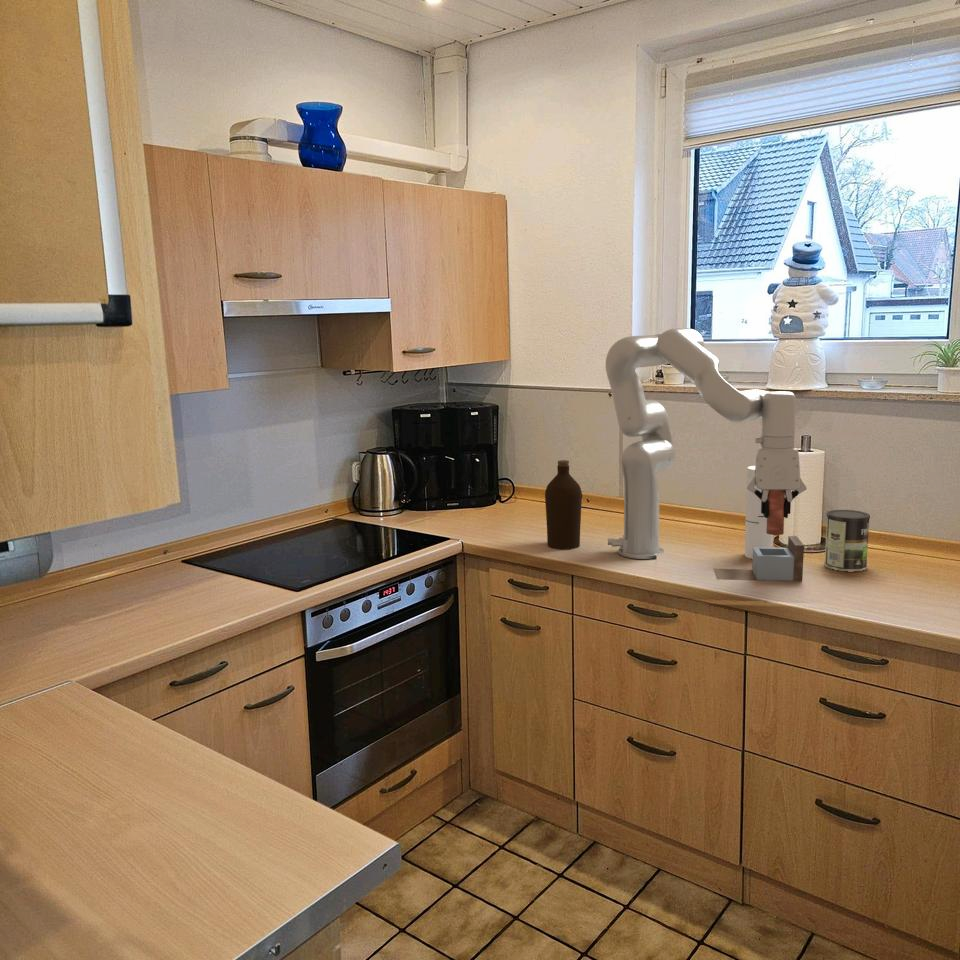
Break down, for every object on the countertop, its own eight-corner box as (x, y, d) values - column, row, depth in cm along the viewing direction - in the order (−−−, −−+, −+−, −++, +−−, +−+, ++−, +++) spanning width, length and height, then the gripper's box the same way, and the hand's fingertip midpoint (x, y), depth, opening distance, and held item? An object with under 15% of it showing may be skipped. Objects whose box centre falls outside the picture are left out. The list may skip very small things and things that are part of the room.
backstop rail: (717, 583, 209) (718, 543, 208) (713, 572, 218) (714, 534, 216) (802, 585, 206) (804, 545, 204) (794, 574, 215) (796, 536, 213)
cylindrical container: (773, 563, 225) (777, 470, 220) (745, 562, 226) (748, 470, 222) (770, 556, 232) (773, 465, 227) (743, 555, 233) (746, 465, 229)
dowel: (767, 535, 207) (769, 486, 205) (765, 531, 211) (766, 483, 209) (784, 535, 207) (786, 486, 205) (782, 531, 211) (783, 483, 209)
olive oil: (563, 552, 240) (563, 465, 236) (537, 545, 248) (537, 461, 244) (589, 545, 247) (589, 460, 242) (563, 539, 255) (563, 456, 250)
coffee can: (869, 564, 222) (872, 511, 220) (863, 574, 214) (866, 519, 211) (827, 559, 228) (830, 507, 225) (820, 569, 219) (823, 515, 216)
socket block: (757, 579, 208) (758, 556, 207) (752, 569, 216) (752, 547, 215) (793, 580, 206) (794, 557, 205) (787, 570, 215) (788, 547, 214)
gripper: (743, 445, 203) (742, 519, 206) (817, 444, 200) (814, 520, 203) (739, 441, 210) (738, 513, 213) (810, 440, 207) (808, 513, 211)
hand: (775, 516), depth 208 cm, fingers closed on dowel, 4 cm apart
